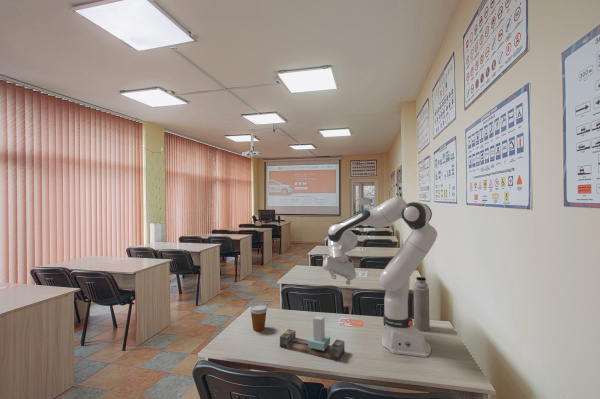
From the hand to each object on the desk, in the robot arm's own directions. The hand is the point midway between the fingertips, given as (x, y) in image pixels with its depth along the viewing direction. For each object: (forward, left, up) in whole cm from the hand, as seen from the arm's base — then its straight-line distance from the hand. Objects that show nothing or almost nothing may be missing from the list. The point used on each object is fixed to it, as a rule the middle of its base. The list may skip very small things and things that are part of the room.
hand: (341, 281), depth 146 cm
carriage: (+7, +14, -27) cm, 31 cm away
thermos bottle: (-35, -33, -30) cm, 57 cm away
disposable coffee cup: (+47, +6, -30) cm, 56 cm away
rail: (+11, +14, -30) cm, 35 cm away
